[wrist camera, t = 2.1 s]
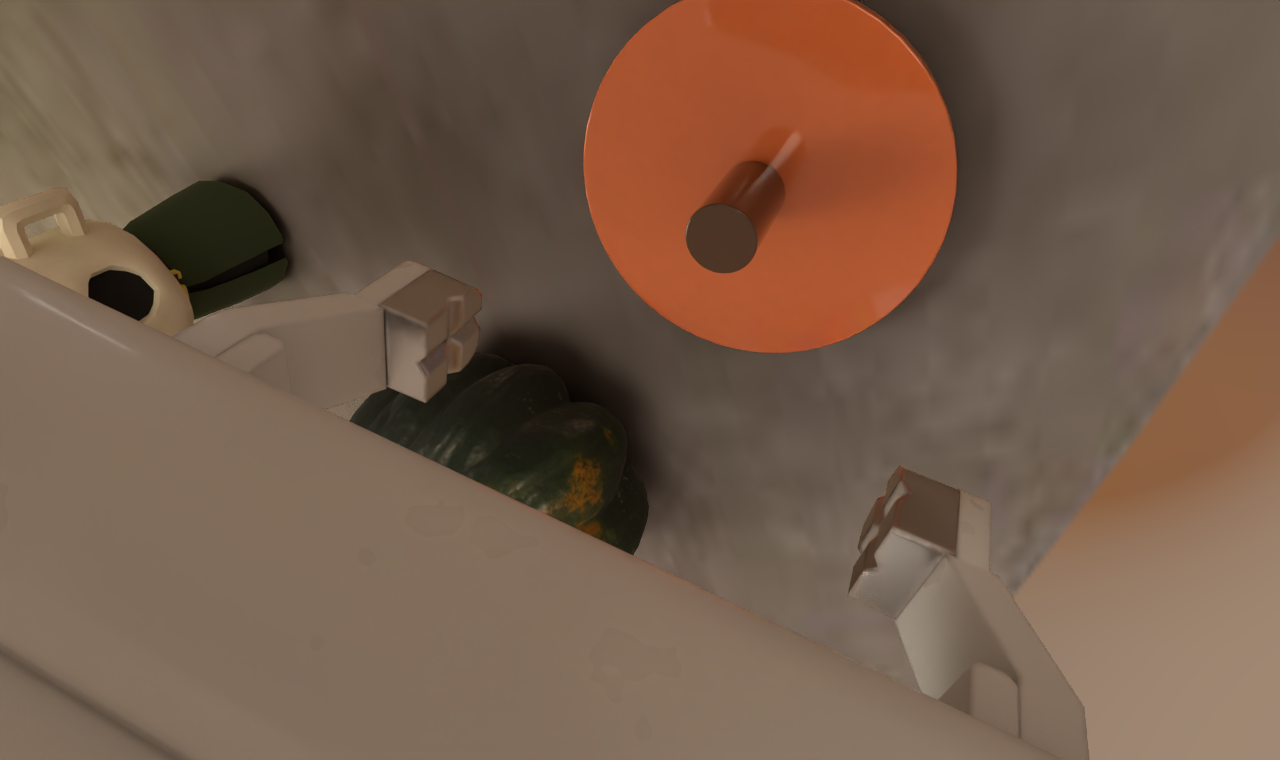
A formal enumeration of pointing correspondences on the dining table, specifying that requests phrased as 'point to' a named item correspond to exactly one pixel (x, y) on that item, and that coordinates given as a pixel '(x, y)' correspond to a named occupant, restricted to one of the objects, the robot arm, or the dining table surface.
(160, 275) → the character mug
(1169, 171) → the dining table surface
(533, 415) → the squash
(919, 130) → the lid
